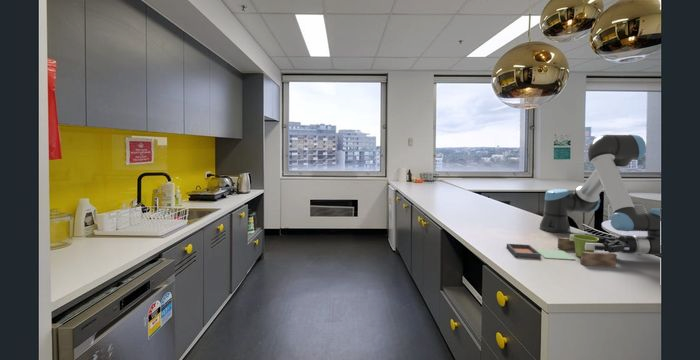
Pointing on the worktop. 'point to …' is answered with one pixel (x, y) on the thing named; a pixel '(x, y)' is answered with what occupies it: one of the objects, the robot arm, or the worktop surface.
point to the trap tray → (523, 251)
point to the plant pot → (583, 243)
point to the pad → (555, 254)
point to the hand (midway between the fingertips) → (577, 241)
